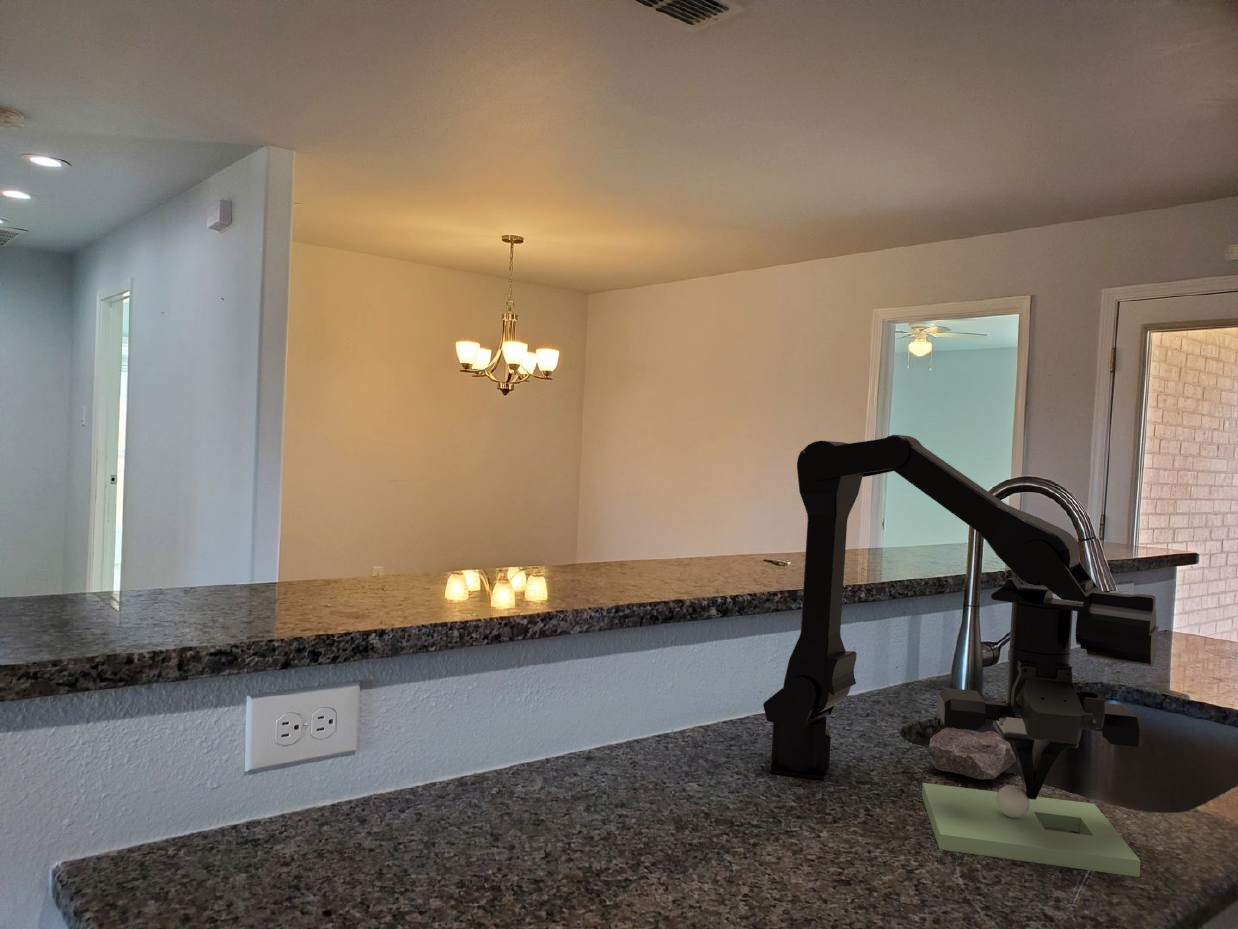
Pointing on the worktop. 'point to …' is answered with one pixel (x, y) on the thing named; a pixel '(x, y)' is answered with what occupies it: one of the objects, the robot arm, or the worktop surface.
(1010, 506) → the robot arm
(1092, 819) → the board
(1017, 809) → the ball
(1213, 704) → the worktop surface
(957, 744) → the rock
